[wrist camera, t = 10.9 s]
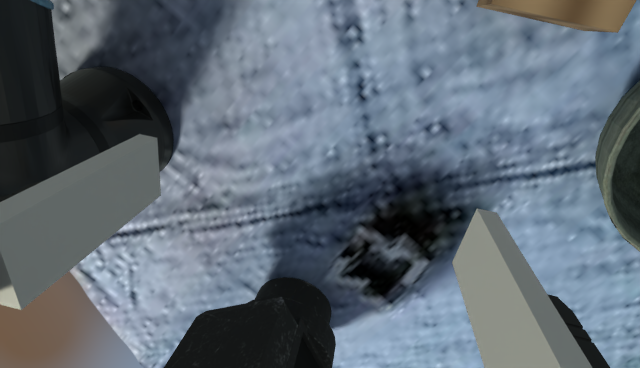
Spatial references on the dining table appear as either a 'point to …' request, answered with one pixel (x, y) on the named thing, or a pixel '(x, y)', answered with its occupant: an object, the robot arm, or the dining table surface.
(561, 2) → the walnut plinth
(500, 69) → the dining table surface
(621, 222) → the bowl
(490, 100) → the dining table surface
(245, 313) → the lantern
